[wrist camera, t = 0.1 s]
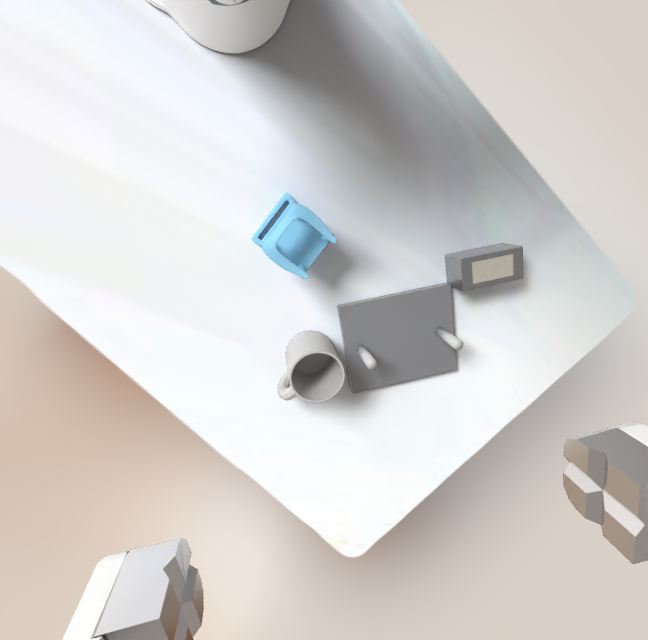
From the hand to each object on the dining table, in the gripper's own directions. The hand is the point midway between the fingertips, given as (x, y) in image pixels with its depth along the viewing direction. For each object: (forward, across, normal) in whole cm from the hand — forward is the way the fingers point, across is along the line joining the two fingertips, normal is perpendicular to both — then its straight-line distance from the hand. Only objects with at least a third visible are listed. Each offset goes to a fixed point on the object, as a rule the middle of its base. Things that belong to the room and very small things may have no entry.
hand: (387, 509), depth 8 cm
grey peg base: (+48, -15, +16) cm, 53 cm away
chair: (+48, -2, -2) cm, 48 cm away
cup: (+48, 0, +16) cm, 51 cm away
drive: (+48, -28, +7) cm, 56 cm away
